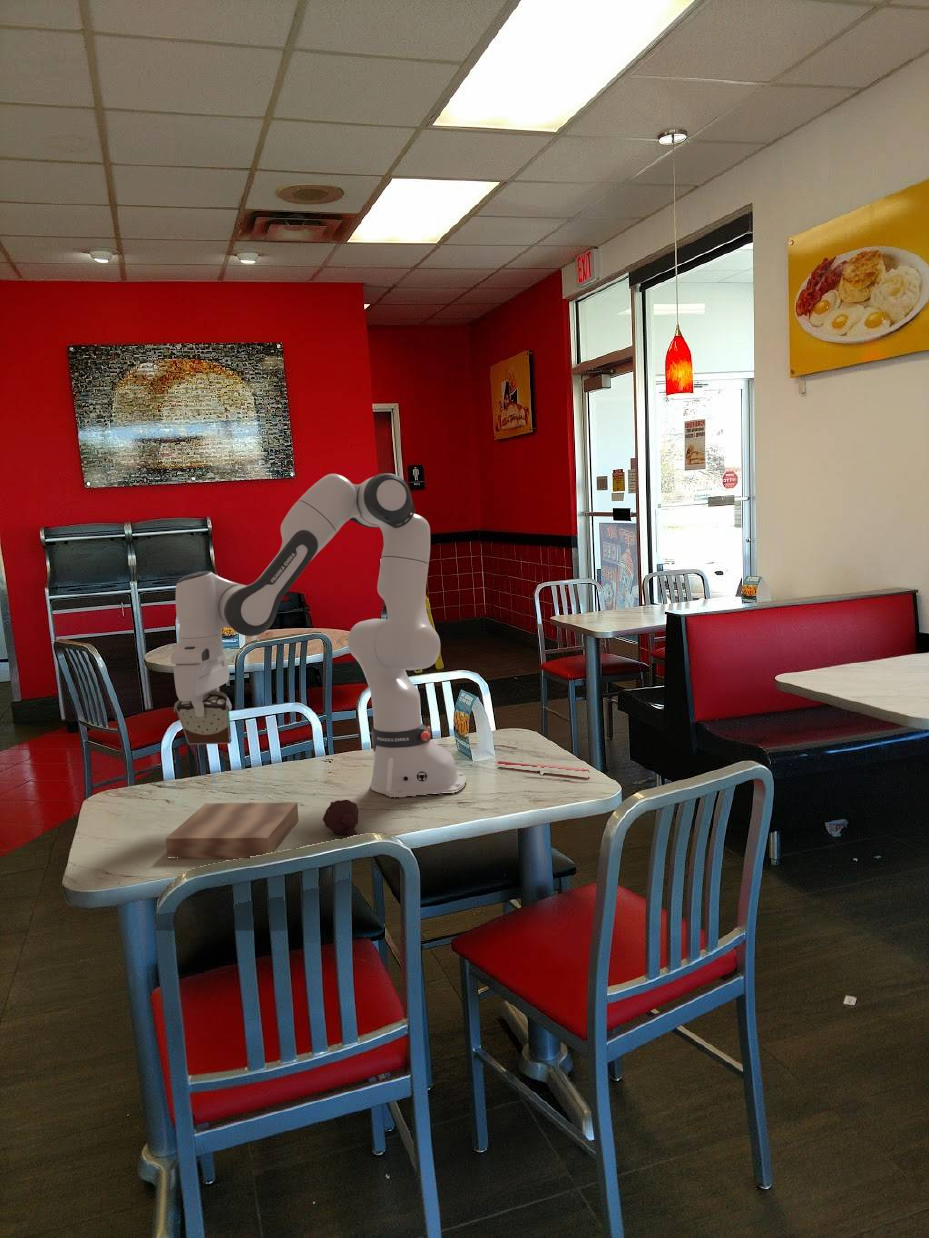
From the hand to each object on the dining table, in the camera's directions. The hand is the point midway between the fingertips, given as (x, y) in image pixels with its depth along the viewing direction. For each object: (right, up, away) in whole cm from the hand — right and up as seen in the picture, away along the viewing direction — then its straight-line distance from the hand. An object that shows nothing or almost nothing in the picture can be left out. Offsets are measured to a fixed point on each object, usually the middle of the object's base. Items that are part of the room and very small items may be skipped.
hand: (207, 712), depth 193 cm
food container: (+1, -6, +4) cm, 7 cm away
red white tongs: (+74, -17, +23) cm, 79 cm away
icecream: (+30, -23, -11) cm, 40 cm away
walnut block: (+9, -24, -12) cm, 28 cm away
